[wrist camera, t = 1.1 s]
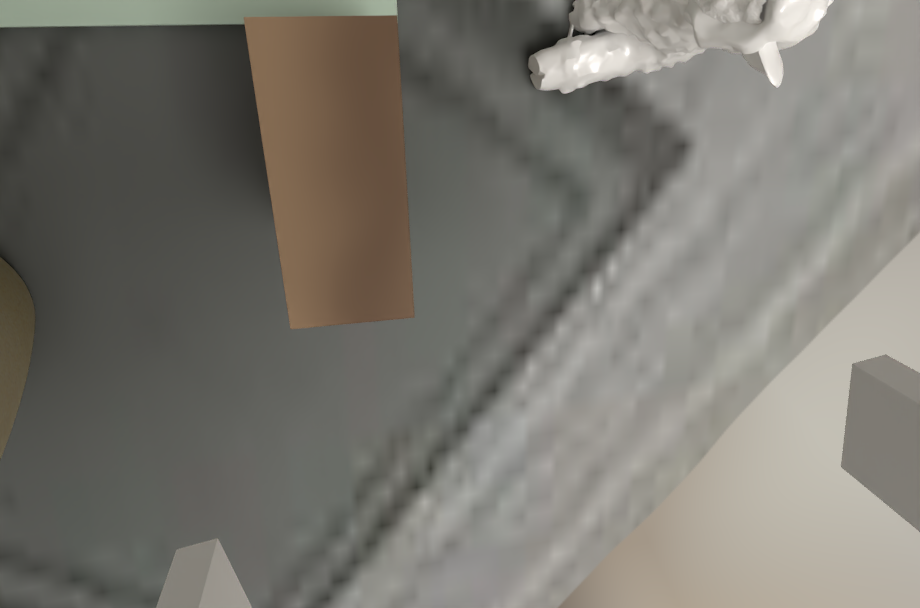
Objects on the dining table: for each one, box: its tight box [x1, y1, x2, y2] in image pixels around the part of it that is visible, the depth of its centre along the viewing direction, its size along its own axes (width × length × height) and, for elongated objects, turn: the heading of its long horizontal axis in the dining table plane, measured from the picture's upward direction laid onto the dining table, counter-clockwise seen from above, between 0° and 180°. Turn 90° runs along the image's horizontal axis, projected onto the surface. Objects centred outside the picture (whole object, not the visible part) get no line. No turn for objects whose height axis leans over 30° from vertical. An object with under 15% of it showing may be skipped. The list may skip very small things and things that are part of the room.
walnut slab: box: [244, 15, 414, 329], centre depth 23 cm, size 4×9×12 cm, turn 1°
